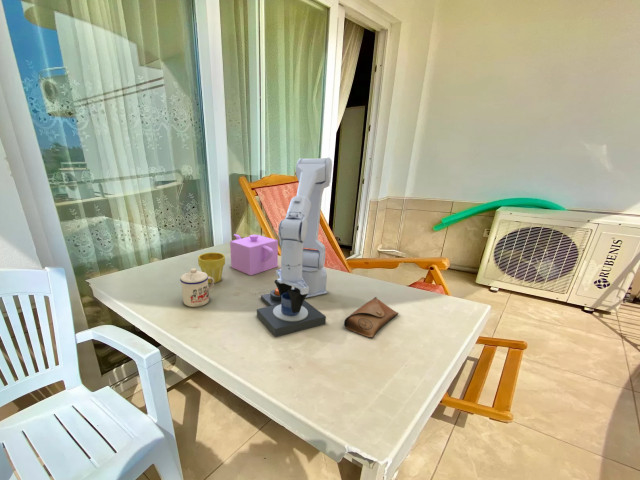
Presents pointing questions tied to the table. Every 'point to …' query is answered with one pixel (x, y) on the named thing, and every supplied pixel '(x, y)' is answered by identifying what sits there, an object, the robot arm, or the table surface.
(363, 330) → the sunglasses case
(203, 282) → the teacup with lid
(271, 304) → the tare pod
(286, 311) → the blue cup
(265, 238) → the teapot
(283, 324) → the scale
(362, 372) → the table surface
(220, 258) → the flower pot
